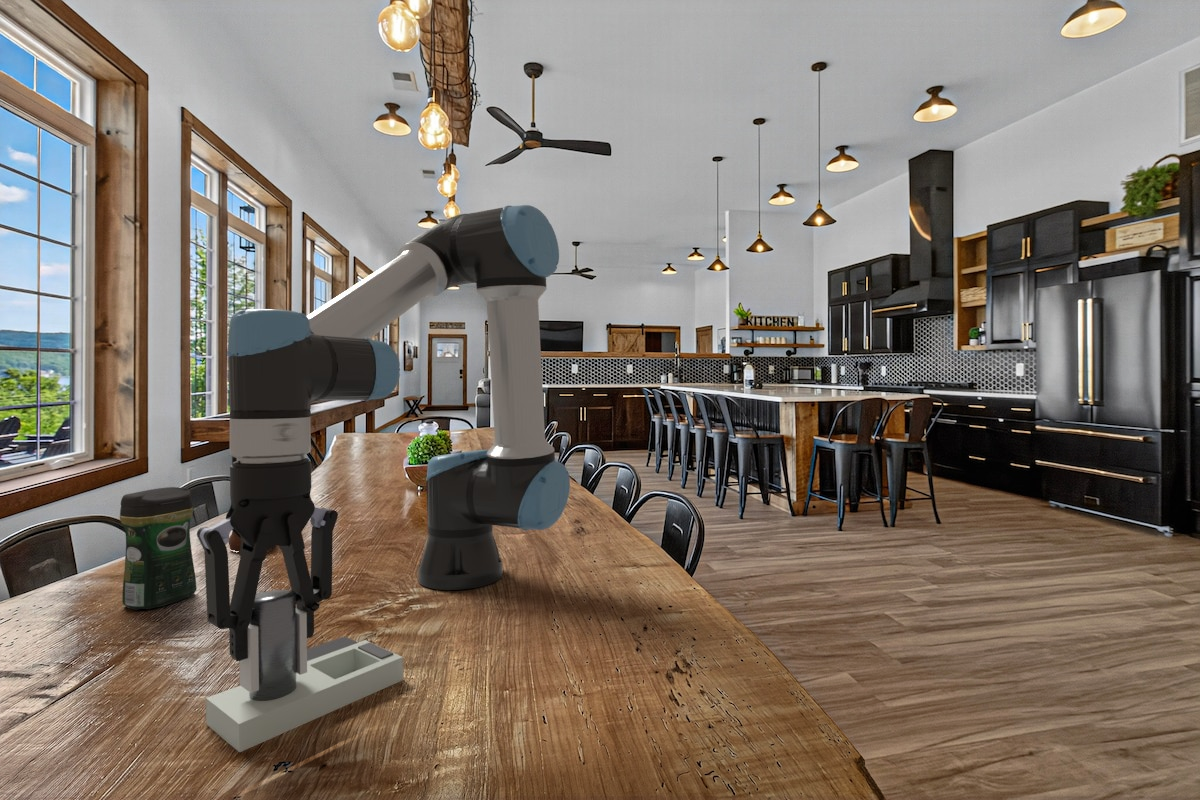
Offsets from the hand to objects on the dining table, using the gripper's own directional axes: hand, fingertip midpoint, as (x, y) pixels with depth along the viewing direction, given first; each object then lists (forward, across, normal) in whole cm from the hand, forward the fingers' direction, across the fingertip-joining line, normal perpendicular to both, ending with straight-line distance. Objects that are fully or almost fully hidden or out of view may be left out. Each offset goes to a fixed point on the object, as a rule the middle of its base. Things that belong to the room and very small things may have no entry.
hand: (274, 678), depth 64 cm
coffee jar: (+4, +5, +52) cm, 52 cm away
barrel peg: (+1, 0, 0) cm, 1 cm away
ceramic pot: (+5, +29, +75) cm, 80 cm away
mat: (+4, +12, +10) cm, 16 cm away
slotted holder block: (+4, +4, 0) cm, 6 cm away
